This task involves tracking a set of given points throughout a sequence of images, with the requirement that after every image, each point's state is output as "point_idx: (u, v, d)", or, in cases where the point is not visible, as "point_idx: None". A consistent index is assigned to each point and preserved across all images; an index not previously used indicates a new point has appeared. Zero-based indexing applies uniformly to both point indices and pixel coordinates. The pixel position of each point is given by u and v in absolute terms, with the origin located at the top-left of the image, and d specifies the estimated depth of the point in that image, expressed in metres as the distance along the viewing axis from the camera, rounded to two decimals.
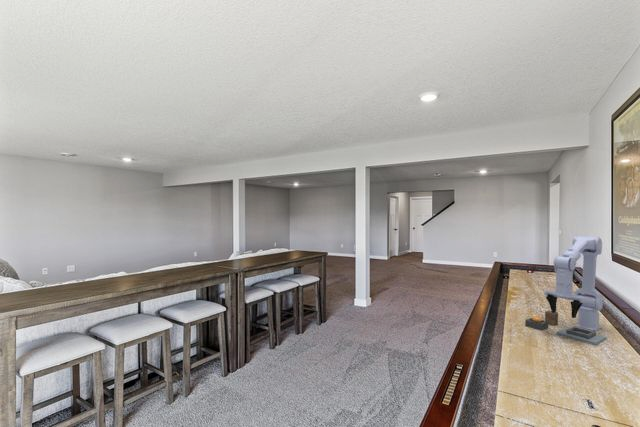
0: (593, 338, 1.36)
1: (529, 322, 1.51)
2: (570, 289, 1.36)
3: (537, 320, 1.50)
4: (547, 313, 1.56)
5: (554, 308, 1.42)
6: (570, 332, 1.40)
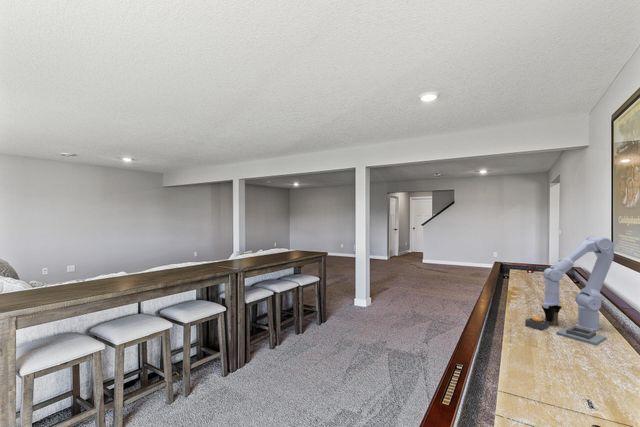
0: (593, 338, 1.36)
1: (529, 322, 1.51)
2: (547, 296, 1.56)
3: (537, 320, 1.50)
4: None
5: None
6: (570, 332, 1.40)
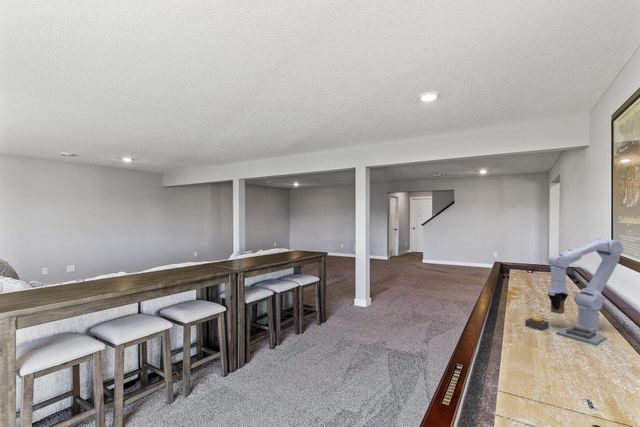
0: (593, 338, 1.36)
1: (529, 322, 1.51)
2: (553, 283, 1.52)
3: (537, 320, 1.50)
4: None
5: None
6: (570, 332, 1.40)
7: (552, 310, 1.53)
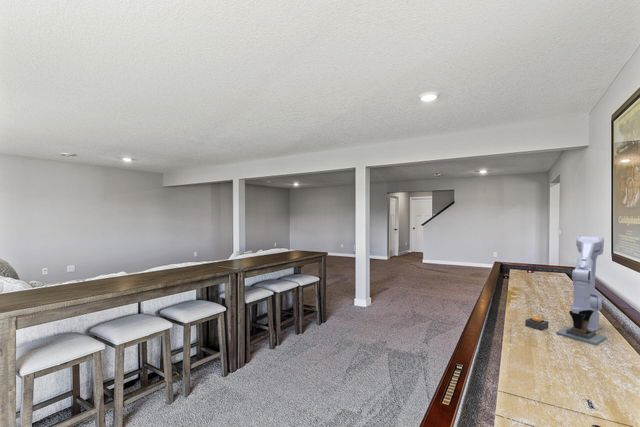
0: (593, 338, 1.36)
1: (529, 322, 1.51)
2: (576, 300, 1.40)
3: (537, 320, 1.50)
4: None
5: None
6: (570, 332, 1.40)
7: None
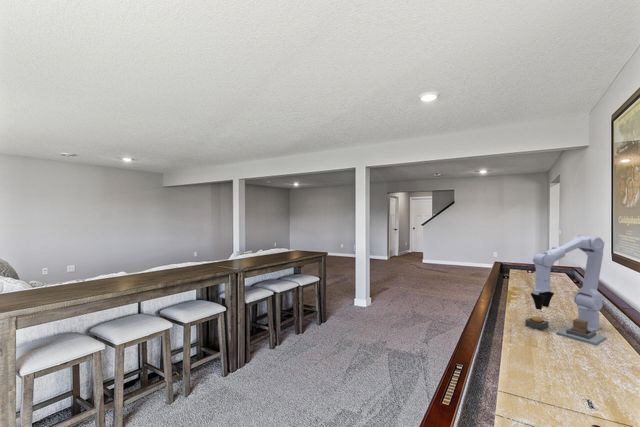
0: (593, 338, 1.36)
1: (529, 322, 1.51)
2: (537, 282, 1.50)
3: (537, 320, 1.50)
4: (575, 322, 1.40)
5: (545, 302, 1.52)
6: (570, 332, 1.40)
7: None
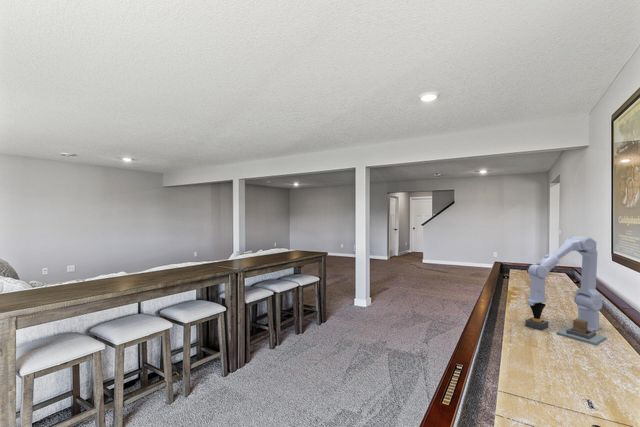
0: (593, 338, 1.36)
1: (529, 322, 1.51)
2: (532, 293, 1.51)
3: (537, 321, 1.50)
4: (575, 322, 1.40)
5: None
6: (570, 332, 1.40)
7: None
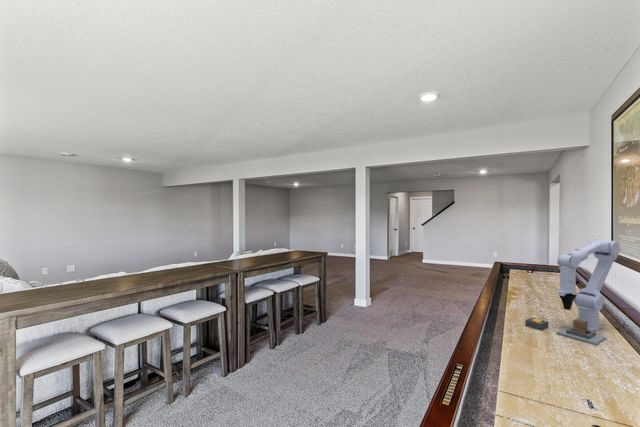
0: (593, 338, 1.36)
1: (529, 322, 1.51)
2: (562, 284, 1.49)
3: None
4: (575, 322, 1.40)
5: None
6: (570, 332, 1.40)
7: None
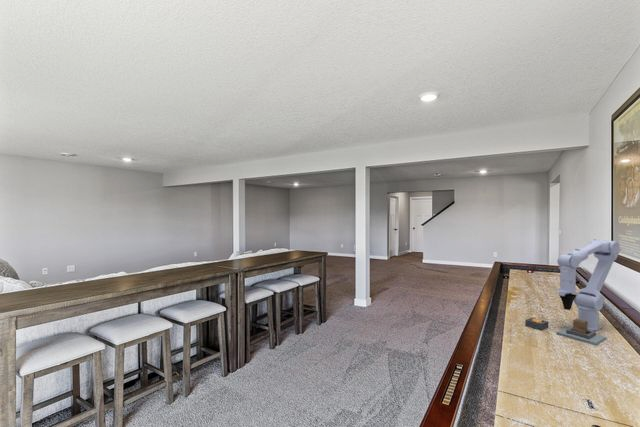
0: (593, 338, 1.36)
1: (529, 322, 1.51)
2: (562, 284, 1.49)
3: None
4: (575, 322, 1.40)
5: None
6: (570, 332, 1.40)
7: None
